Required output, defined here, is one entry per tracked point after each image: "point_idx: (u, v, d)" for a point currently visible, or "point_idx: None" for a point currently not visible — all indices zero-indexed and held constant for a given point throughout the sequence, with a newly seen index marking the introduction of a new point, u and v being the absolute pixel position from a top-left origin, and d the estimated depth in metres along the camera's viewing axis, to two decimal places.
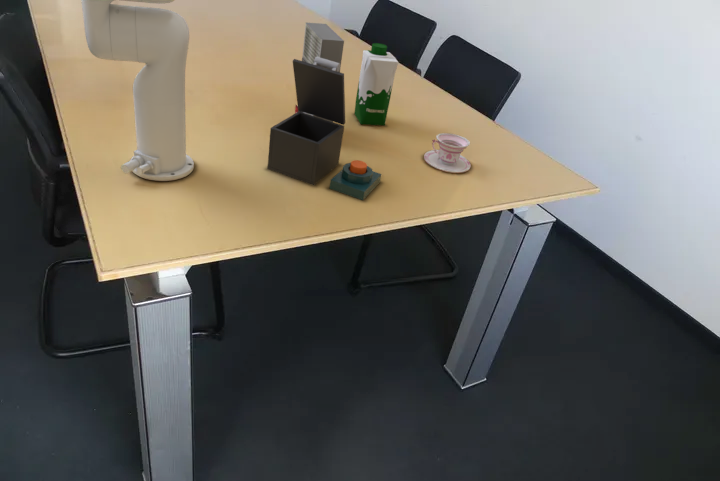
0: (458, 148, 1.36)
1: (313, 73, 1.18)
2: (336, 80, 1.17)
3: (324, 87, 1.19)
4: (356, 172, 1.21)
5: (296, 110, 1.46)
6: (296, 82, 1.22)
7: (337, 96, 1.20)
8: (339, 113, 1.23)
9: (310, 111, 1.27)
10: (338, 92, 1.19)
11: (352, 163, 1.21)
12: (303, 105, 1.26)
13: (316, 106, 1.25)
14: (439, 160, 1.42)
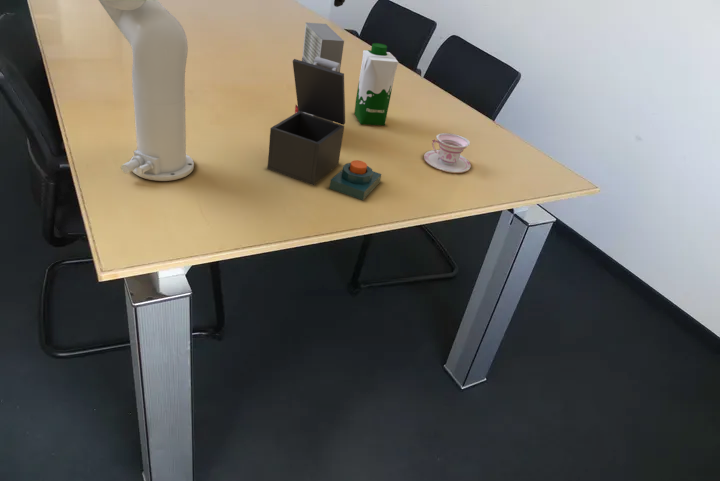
0: (458, 148, 1.36)
1: (313, 73, 1.18)
2: (336, 80, 1.17)
3: (324, 87, 1.19)
4: (356, 172, 1.21)
5: (296, 110, 1.46)
6: (296, 82, 1.22)
7: (337, 96, 1.20)
8: (339, 113, 1.23)
9: (310, 111, 1.27)
10: (338, 92, 1.19)
11: (352, 163, 1.21)
12: (303, 105, 1.26)
13: (316, 106, 1.25)
14: (439, 160, 1.42)
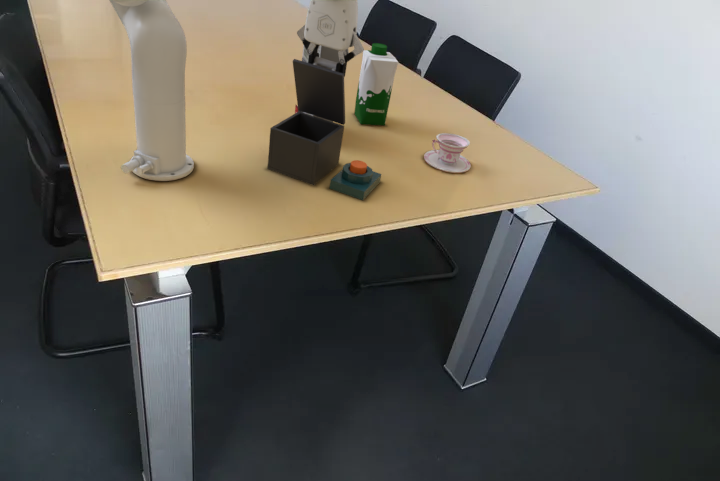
0: (458, 148, 1.36)
1: (313, 73, 1.18)
2: (336, 80, 1.17)
3: (324, 87, 1.19)
4: (356, 172, 1.21)
5: (296, 110, 1.45)
6: (296, 82, 1.22)
7: (337, 96, 1.20)
8: (339, 113, 1.23)
9: (310, 111, 1.27)
10: (338, 92, 1.19)
11: (352, 163, 1.21)
12: (303, 105, 1.26)
13: (316, 106, 1.25)
14: (439, 160, 1.42)
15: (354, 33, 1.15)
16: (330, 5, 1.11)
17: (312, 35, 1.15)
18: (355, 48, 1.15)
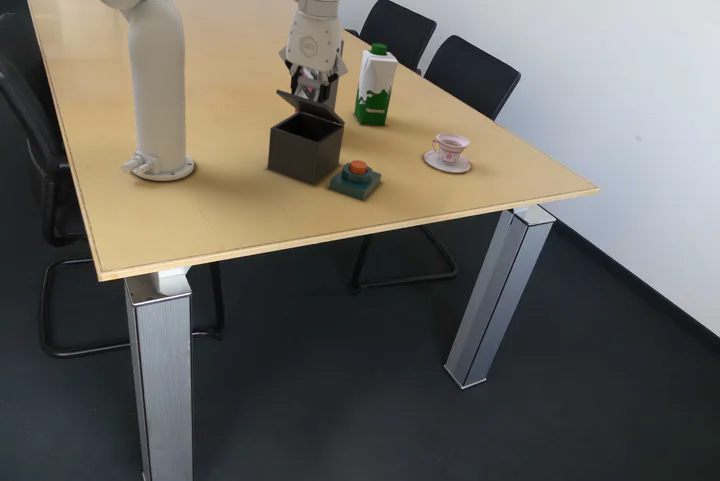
0: (458, 148, 1.36)
1: (299, 101, 1.16)
2: (321, 109, 1.15)
3: (313, 108, 1.18)
4: (356, 172, 1.21)
5: (296, 110, 1.46)
6: (287, 101, 1.21)
7: (328, 114, 1.19)
8: (336, 120, 1.23)
9: None
10: (328, 113, 1.18)
11: (352, 163, 1.21)
12: (301, 110, 1.26)
13: (313, 113, 1.25)
14: (439, 160, 1.42)
15: (338, 54, 1.11)
16: (312, 25, 1.07)
17: (294, 56, 1.11)
18: (339, 69, 1.11)
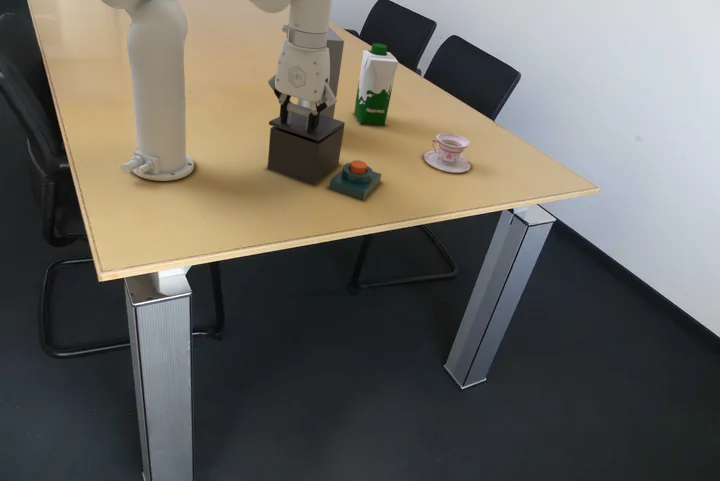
0: (458, 148, 1.36)
1: None
2: None
3: None
4: (356, 172, 1.21)
5: None
6: None
7: None
8: None
9: None
10: None
11: (352, 163, 1.21)
12: None
13: None
14: (439, 160, 1.42)
15: (326, 84, 1.11)
16: (300, 56, 1.07)
17: (283, 86, 1.11)
18: (327, 99, 1.11)
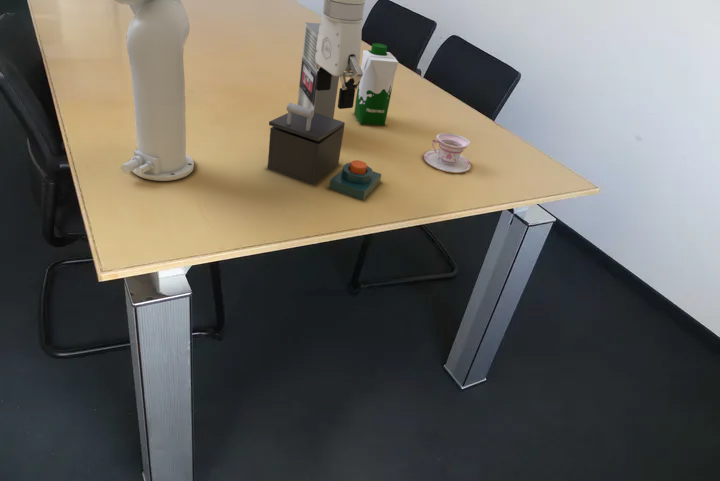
0: (458, 148, 1.36)
1: None
2: None
3: None
4: (356, 172, 1.21)
5: None
6: None
7: None
8: None
9: None
10: None
11: (352, 163, 1.21)
12: None
13: None
14: (439, 160, 1.42)
15: (353, 57, 1.05)
16: (329, 27, 1.04)
17: (318, 57, 1.10)
18: (353, 72, 1.04)
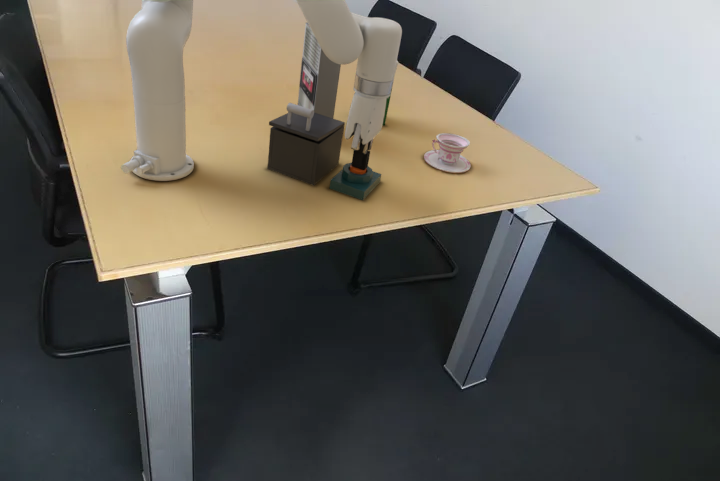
0: (458, 148, 1.36)
1: None
2: None
3: None
4: None
5: None
6: None
7: None
8: None
9: None
10: None
11: (351, 166, 1.22)
12: None
13: None
14: (439, 160, 1.42)
15: (358, 131, 1.13)
16: None
17: None
18: None
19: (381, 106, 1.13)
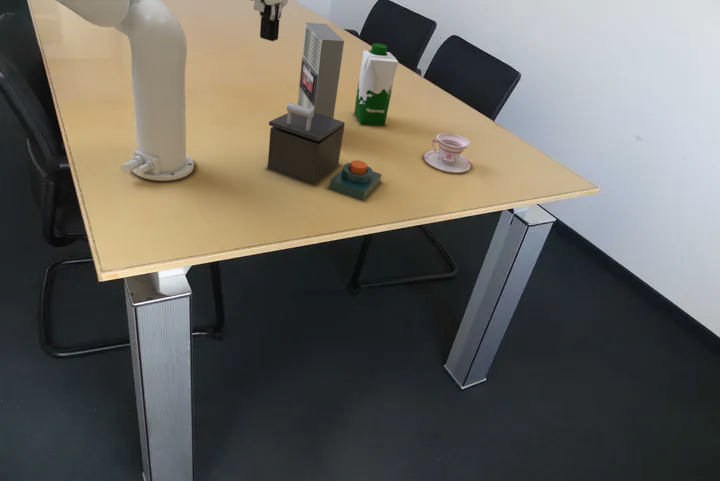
0: (458, 148, 1.36)
1: None
2: None
3: None
4: (356, 172, 1.21)
5: None
6: None
7: None
8: None
9: None
10: None
11: (352, 163, 1.21)
12: None
13: None
14: (439, 160, 1.42)
15: None
16: None
17: None
18: None
19: None
